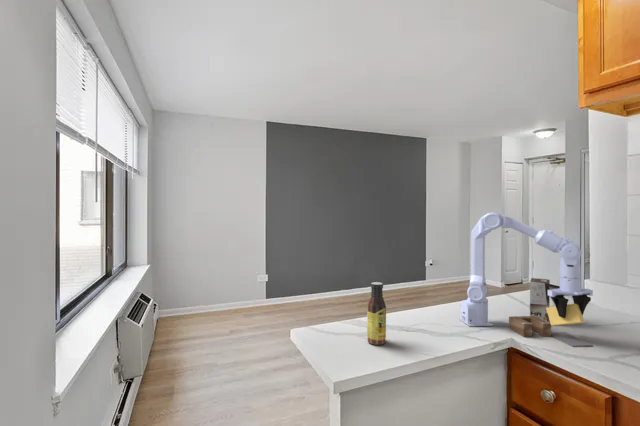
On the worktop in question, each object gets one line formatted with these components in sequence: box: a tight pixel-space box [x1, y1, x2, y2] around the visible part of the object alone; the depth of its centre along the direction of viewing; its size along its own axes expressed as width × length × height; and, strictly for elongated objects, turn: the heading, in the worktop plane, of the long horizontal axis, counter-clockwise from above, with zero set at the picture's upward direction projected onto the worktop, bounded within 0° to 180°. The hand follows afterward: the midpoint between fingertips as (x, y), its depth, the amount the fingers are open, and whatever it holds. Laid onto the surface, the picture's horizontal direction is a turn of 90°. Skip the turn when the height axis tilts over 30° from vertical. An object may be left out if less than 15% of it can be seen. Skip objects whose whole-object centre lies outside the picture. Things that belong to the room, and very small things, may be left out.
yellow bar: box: [546, 303, 585, 327], centre depth 111 cm, size 3×9×6 cm, turn 38°
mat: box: [550, 331, 594, 348], centre depth 110 cm, size 7×11×1 cm, turn 3°
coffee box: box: [529, 277, 551, 322], centre depth 129 cm, size 9×6×16 cm
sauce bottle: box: [366, 281, 387, 346], centre depth 108 cm, size 6×6×20 cm
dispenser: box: [508, 315, 552, 338], centre depth 116 cm, size 10×8×5 cm
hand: (570, 316), depth 110 cm, fingers closed on yellow bar, 5 cm apart
